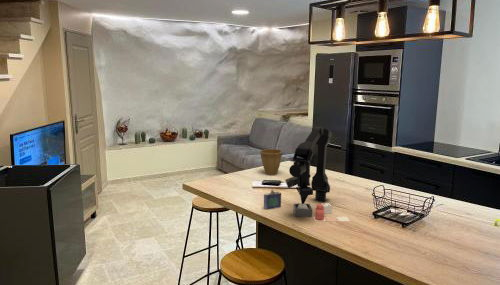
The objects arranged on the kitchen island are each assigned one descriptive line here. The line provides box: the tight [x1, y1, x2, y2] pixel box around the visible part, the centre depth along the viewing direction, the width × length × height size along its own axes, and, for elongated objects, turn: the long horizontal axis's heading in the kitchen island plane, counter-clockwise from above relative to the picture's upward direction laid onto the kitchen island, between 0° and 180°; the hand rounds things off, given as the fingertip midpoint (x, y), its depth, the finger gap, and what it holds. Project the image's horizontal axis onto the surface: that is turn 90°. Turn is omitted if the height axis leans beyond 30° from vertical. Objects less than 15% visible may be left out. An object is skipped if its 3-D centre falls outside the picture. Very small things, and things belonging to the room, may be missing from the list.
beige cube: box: [321, 202, 333, 215], centre depth 182 cm, size 4×4×4 cm
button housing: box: [292, 203, 313, 218], centre depth 179 cm, size 8×8×4 cm
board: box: [312, 216, 350, 222], centre depth 177 cm, size 14×26×2 cm, turn 91°
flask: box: [263, 189, 282, 210], centre depth 188 cm, size 9×3×11 cm, turn 109°
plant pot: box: [259, 148, 283, 176], centre depth 254 cm, size 15×15×16 cm
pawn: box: [314, 203, 325, 222], centre depth 173 cm, size 4×4×7 cm
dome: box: [297, 202, 309, 209], centre depth 179 cm, size 6×6×4 cm
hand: (302, 203), depth 179 cm, fingers closed, pressing on dome
